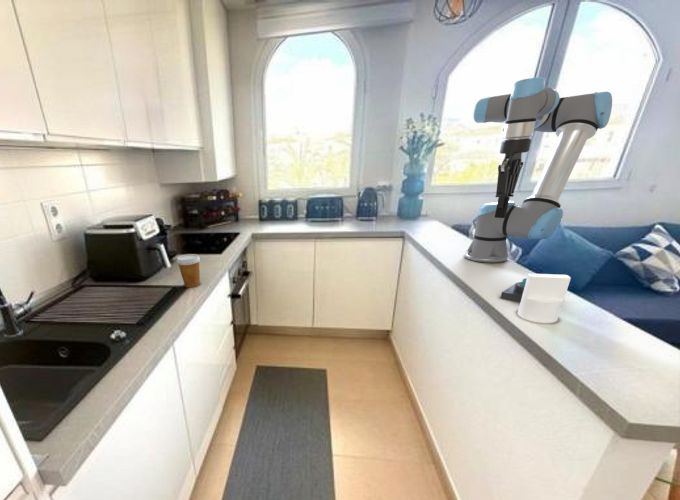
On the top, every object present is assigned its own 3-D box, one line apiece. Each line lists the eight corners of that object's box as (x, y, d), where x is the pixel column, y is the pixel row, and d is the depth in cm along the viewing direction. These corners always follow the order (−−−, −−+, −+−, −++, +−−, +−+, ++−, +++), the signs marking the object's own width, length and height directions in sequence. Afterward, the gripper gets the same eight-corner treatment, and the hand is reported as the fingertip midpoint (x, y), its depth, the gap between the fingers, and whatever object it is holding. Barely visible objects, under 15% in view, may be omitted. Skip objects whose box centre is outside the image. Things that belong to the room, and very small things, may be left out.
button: (524, 283, 110) (525, 277, 109) (539, 286, 107) (540, 280, 106) (519, 286, 108) (520, 280, 107) (534, 289, 105) (536, 283, 104)
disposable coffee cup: (208, 281, 146) (204, 254, 141) (195, 289, 138) (190, 260, 133) (189, 280, 150) (185, 253, 145) (176, 287, 142) (171, 259, 137)
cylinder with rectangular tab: (523, 321, 95) (534, 280, 90) (513, 308, 102) (523, 270, 97) (563, 324, 92) (577, 282, 87) (550, 310, 99) (562, 271, 94)
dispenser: (515, 288, 116) (518, 277, 114) (552, 295, 108) (555, 284, 107) (500, 298, 110) (503, 286, 108) (537, 307, 102) (541, 294, 100)
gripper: (511, 139, 111) (496, 213, 121) (493, 140, 104) (478, 219, 114) (539, 137, 106) (520, 215, 115) (522, 138, 99) (504, 221, 109)
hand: (499, 217), depth 115 cm, fingers closed
